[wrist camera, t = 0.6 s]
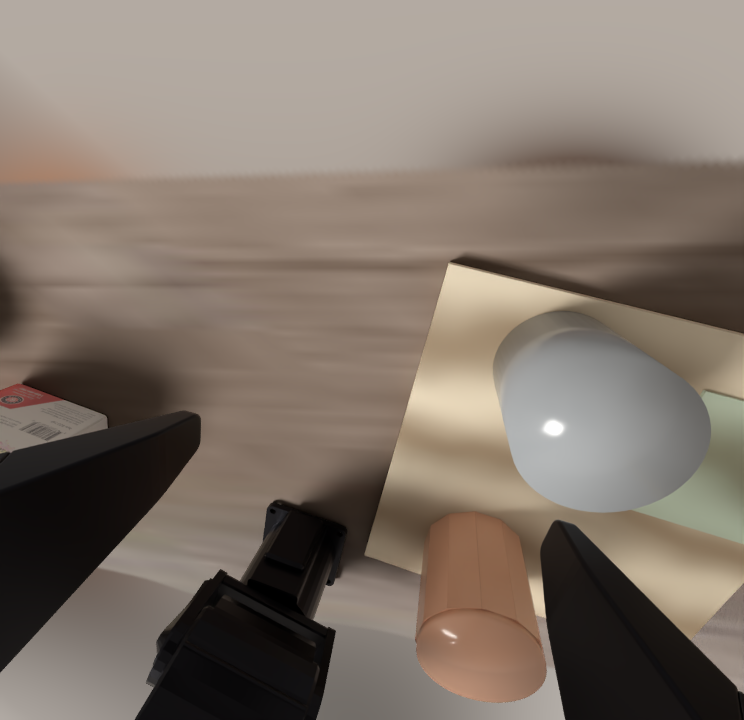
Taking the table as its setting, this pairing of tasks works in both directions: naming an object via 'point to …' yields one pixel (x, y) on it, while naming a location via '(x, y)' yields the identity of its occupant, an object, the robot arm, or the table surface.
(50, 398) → the ink cartridge box
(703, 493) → the birch board
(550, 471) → the grey rounded piece
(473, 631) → the peach domed cylinder
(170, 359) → the table surface
